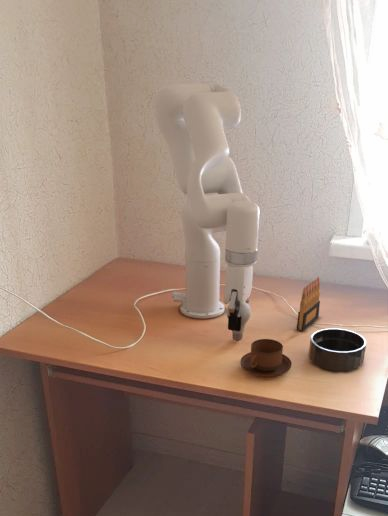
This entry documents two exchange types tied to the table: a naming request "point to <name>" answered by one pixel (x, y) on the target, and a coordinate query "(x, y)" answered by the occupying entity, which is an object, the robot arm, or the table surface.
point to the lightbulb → (245, 317)
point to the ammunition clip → (309, 305)
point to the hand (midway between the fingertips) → (238, 323)
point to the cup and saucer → (266, 359)
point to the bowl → (337, 349)
